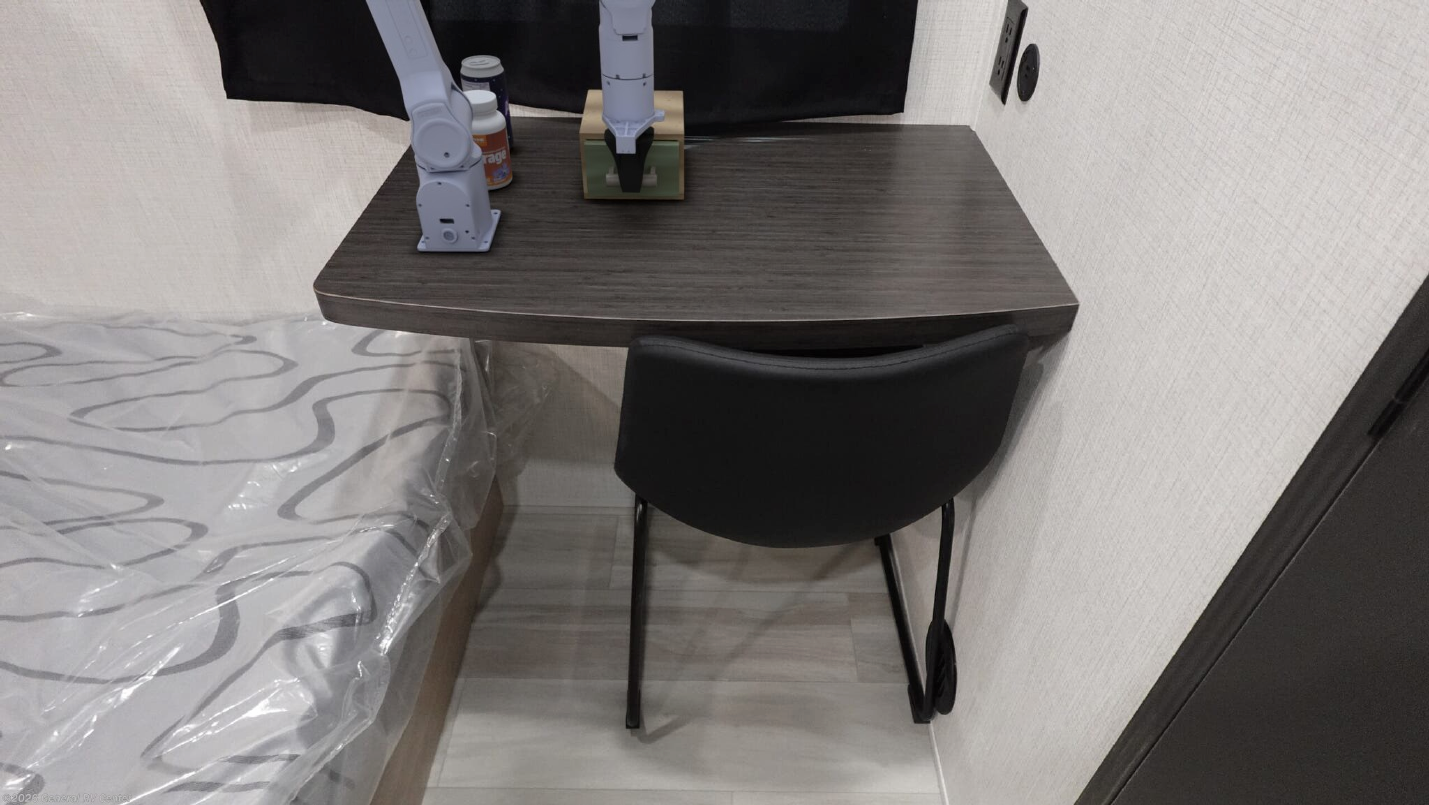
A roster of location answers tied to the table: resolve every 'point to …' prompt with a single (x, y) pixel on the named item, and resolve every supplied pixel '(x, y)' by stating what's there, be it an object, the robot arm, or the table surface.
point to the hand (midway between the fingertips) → (631, 189)
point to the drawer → (656, 175)
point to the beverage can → (488, 83)
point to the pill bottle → (491, 138)
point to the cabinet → (662, 130)
